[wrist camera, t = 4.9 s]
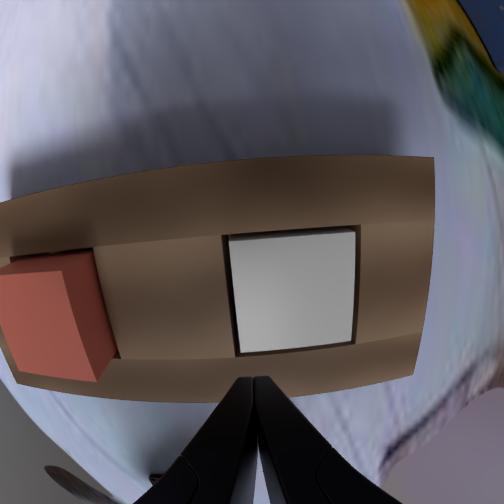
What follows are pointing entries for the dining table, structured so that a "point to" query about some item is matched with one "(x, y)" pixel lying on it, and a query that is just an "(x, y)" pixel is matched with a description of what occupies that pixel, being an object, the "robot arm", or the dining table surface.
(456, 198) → the dining table surface
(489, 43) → the electronic device
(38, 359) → the salmon pink cube
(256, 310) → the pale grey cube
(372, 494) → the robot arm
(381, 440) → the dining table surface
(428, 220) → the brown tray
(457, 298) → the dining table surface
